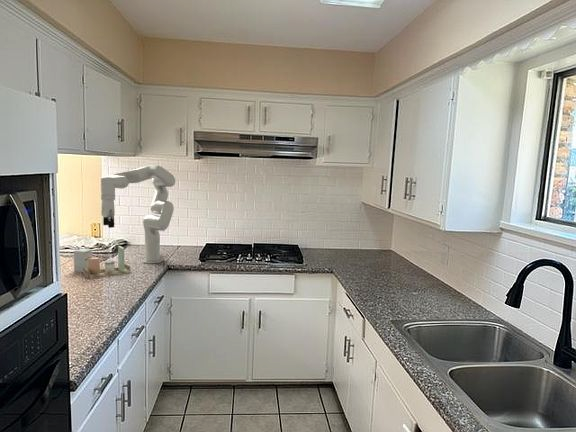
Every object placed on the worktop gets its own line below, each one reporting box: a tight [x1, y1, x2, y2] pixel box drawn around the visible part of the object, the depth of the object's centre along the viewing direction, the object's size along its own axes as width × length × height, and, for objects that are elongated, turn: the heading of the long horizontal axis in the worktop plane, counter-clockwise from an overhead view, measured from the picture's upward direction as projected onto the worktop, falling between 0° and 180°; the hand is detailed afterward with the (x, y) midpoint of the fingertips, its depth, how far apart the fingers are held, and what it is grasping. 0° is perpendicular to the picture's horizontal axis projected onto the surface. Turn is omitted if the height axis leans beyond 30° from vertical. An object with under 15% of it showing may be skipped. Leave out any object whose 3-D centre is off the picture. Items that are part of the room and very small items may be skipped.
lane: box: [82, 261, 131, 279], centre depth 243 cm, size 24×11×4 cm, turn 130°
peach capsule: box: [88, 256, 101, 275], centre depth 238 cm, size 6×6×10 cm
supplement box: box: [73, 248, 93, 273], centre depth 247 cm, size 7×7×13 cm
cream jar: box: [103, 260, 116, 273], centre depth 244 cm, size 6×6×7 cm
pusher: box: [117, 245, 127, 271], centre depth 249 cm, size 3×8×15 cm, turn 40°
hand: (108, 226), depth 241 cm, fingers open, 9 cm apart
